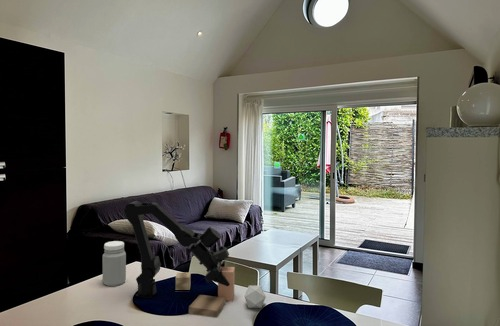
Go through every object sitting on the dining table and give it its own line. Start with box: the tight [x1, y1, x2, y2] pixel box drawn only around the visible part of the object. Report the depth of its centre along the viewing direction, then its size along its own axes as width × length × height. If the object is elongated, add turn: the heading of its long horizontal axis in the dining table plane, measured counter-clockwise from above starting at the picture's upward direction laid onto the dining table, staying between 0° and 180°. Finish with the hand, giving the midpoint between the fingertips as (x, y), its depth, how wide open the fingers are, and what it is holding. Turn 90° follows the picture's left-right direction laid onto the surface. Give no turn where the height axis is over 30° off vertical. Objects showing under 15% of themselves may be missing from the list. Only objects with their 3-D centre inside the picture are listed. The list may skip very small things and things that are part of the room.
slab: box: [188, 294, 227, 318], centre depth 135 cm, size 11×11×3 cm
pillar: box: [217, 266, 236, 302], centre depth 145 cm, size 6×6×12 cm
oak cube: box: [175, 271, 191, 290], centre depth 154 cm, size 6×6×6 cm
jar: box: [102, 240, 127, 287], centre depth 158 cm, size 10×10×18 cm
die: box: [244, 285, 266, 309], centre depth 138 cm, size 8×9×10 cm
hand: (229, 282), depth 145 cm, fingers closed on pillar, 6 cm apart
